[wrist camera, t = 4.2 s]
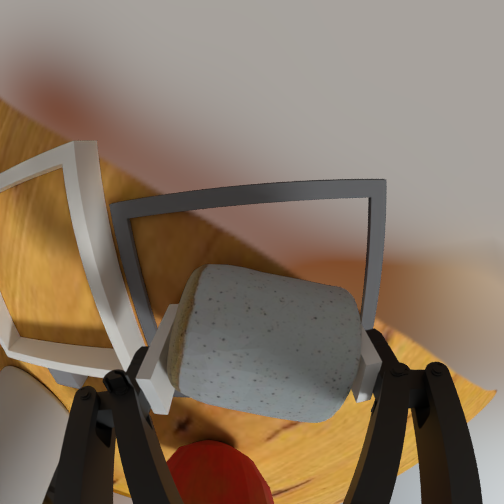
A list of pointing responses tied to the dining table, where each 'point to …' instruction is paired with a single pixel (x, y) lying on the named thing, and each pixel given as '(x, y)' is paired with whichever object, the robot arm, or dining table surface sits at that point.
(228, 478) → the apple
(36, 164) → the socket
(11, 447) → the cylinder vase
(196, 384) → the ceramic mug
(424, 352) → the dining table surface
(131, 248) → the tray outline
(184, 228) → the dining table surface
